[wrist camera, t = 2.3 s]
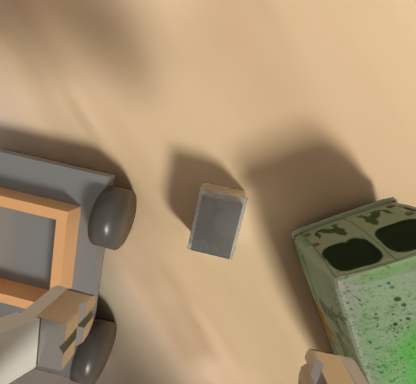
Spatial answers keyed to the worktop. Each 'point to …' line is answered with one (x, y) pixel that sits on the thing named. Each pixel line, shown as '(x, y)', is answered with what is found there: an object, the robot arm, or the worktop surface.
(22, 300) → the chassis
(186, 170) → the worktop surface
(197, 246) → the grey wooden block
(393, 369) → the toy car
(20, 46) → the worktop surface
